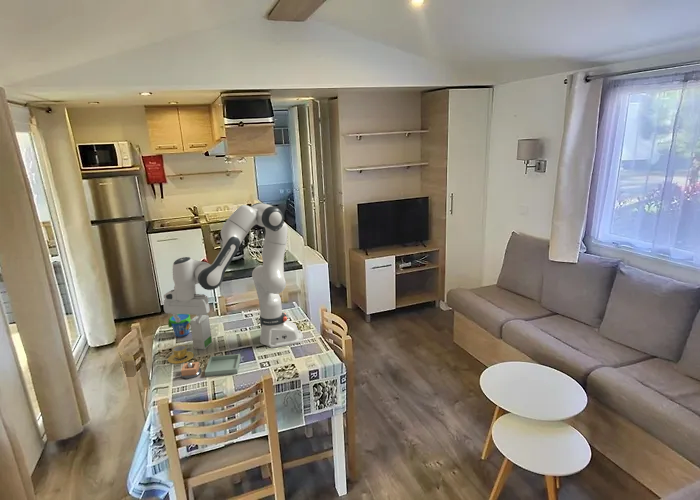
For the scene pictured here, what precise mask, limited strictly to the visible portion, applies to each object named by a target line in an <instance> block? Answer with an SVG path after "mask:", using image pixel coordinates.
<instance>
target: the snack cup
mask: <svg viewBox="0 0 700 500" xmlns="http://www.w3.org/2000/svg"><path fill="white" fill-rule="evenodd" d="M177 316H178V317H179V318H180V320H181V321H180V322H179V323H177V322H176V320H175V318H174V317H173V315H172V316H170V317H169V319H168V322H167V323H168V324H167V325H168V327H169V328H171V327H172V331H173V333H174V335H175V337H180V338H181V337H185V336H188V335H189V334H190V331H191V325H190V320H192V319H191V314H177Z"/></svg>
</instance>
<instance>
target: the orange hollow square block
mask: <svg viewBox="0 0 700 500" xmlns="http://www.w3.org/2000/svg"><path fill="white" fill-rule="evenodd" d="M188 363H189V362H183V366H182V367H181V371H180V373H182V376H188V375H197V373H198V370H199V368H201V367H200V361H194V362H191V363H192V367H193V368H188Z"/></svg>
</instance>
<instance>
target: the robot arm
mask: <svg viewBox="0 0 700 500" xmlns="http://www.w3.org/2000/svg"><path fill="white" fill-rule="evenodd" d="M283 214H284V213H283V212H282V211H281V210H280V208H278V207H277V206H274V205H271V204H268V203H261V202H256V203H253V204H251V205H250V206H249V205H247V204H243V205H240V206H238V208H236V209H235V210H234V211H233V212H232V214H231V215H230V216H229V217H228V219H226V221H225V223H224V224H223V225H222V228H221V229H220V237H221V240H222V248H221V250H220V251H219V253H218V254H217V256H216V258H215V259H214V260H213V262H212V263H211V264H210V263H208V262H206V261H201V260H196V259H193V258H191V257H189V256H183V257H180V258H178V259H176V260H174V262H173V264H172V280H173V282H174V287H173V289H170V290H169V291H167V292H166V293H165V294H164V295H163V298H164V300H163V311H164V313H165V314H169V315H170V314H171V315H172V316H173V317H174V318H175V320H176V322H177V323H179V322H180V321H181V320H180V318H179V317H178V316H177V314H189V315H192V316H193V315H195V316H197V317H198V319H196V320H195V321H196V323H198V324H199V323H200V319H201V317H202V315H208V314H209V313H210V311H211V310H210V309H211V308H210V304H209V296H207V295H205V294H201V293H197V292H196V291H197V290H196V285H198V284H199V286H200V287H201V288H203V289H204V290H207V291H212V290H215V289H217V288H219V287H220V286H221V285H222V283H223V280H224V276H225V273H226V271H227V269H228V268H229V266H230V265H231V262H232V260H233V259H234V257H235V256H236V254H237V253H238V250H239V249H240V247H241V244H242V242H243V241H244V240H245V238H246V236H247V235H248V233H250V231H251V229H252V228H253V227H254V226H256V225H258V226H259V227H261V228H264V229H265V235H264V240H263V244H262V245H263V246H262V251H261V259H262V265H257V266H256V267H255V268H254V269H253V270H252V272H251V273H252V274H251V277H252V280H253V283H254V287H255V290H256V294H257V298H258V303H259V310H260V311H259V313H260V314H259V324H260V337H259V342H260V343H261V345H264V346H267V347H269V348H271V349H274V348H280V347H285V346H290V345H296V344H300V343H301V342H302V341H303V340H304V336H303V332H302V331H301V330H299V328H298V326H297V324H296V323H294V322H293V321H291V320H289V319H288V317H287V313H286V312H283V307H282V299H281V296H280V294H281V293H282V292H284V290H285V289H286V286H287V282H286V281H287V280H286V278H285V269H284V267H285V266H284V265H285V263H284V262H285V261H284V259H285V254H286V248H287V241H288V233H289V232H288V229H289V227H288V224H287V223H286V222H285V221H284V215H283Z"/></svg>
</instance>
